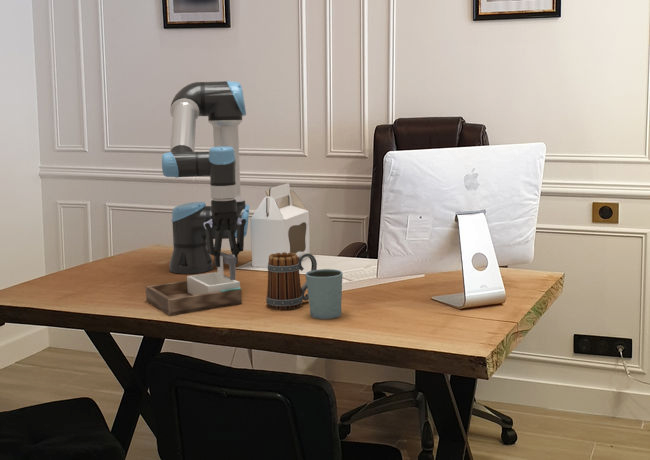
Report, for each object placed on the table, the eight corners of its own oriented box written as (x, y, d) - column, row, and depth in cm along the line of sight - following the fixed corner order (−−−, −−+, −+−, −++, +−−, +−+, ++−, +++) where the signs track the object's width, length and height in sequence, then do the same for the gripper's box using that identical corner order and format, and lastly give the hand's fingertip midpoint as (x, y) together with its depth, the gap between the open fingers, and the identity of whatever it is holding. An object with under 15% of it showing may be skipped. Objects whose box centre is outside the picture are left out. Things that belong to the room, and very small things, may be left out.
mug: (275, 312, 236) (273, 260, 233) (260, 304, 245) (258, 254, 242) (324, 305, 243) (323, 254, 240) (308, 297, 252) (307, 248, 249)
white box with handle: (220, 287, 261) (218, 250, 259) (242, 298, 247) (241, 259, 245) (187, 292, 256) (185, 254, 254) (208, 303, 242) (207, 263, 240)
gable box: (277, 255, 317) (275, 181, 312) (310, 257, 312) (308, 182, 307) (251, 267, 297) (248, 188, 292) (285, 269, 292) (283, 189, 287)
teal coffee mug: (347, 318, 229) (347, 275, 227) (312, 321, 226) (311, 278, 224) (336, 308, 238) (336, 267, 236) (302, 312, 235) (301, 270, 233)
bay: (214, 290, 262) (213, 275, 262) (241, 304, 245) (241, 288, 245) (146, 301, 251) (145, 285, 250) (170, 315, 234) (169, 299, 234)
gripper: (243, 195, 256) (245, 270, 260) (193, 200, 248) (196, 277, 252) (254, 198, 250) (256, 275, 254) (202, 202, 242) (206, 282, 245)
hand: (226, 276), depth 253 cm, fingers open, 3 cm apart
